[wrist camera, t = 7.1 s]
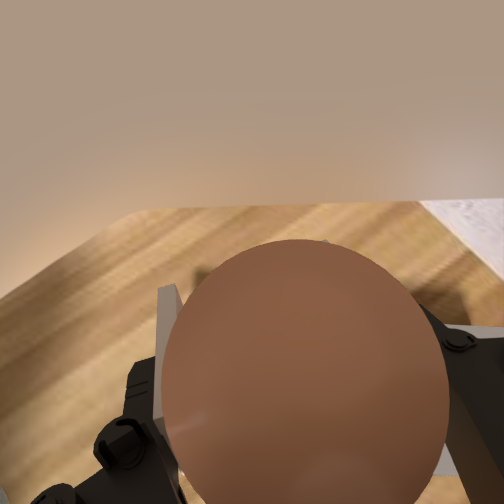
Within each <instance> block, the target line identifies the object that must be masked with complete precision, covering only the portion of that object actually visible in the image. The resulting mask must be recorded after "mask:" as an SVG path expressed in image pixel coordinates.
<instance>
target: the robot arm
mask: <svg viewBox="0 0 504 504" xmlns="http://www.w3.org/2000/svg"><path fill="white" fill-rule="evenodd" d="M322 242H327V243H329V242H328V241H327V240H323V241H322ZM415 301H416V300H415ZM416 302H417V301H416ZM417 303H418V302H417ZM418 305H419V306H420V307H421V309H422V310H423V312H424V314H425V316H426V317H427V319H428V321H429V322H430V324H431V326H432V328H433V331H434V333H435V335H436V337H437V340H438V342H439V345H440V348H441V351H442V354H443V358H444V361H445V366H446V371H447V376H448V382H449V398H450V407H449V423H448V429H447V434H446V439H445V444H446V446H447V449H448V451H449V453H450V456H451V458H452V460H453V463H454V465H455V467H456V470H457V472H458V475H459V477H460V479H461V482H462V484H463V486H464V489H465V491H466V494H467V496H468V498H469V501H470V503H471V504H504V337H499V338H476V337H475V336H474V335H472V334H470V333H469V332H467V331H464V330H460V329H456V328H448V327H447V326H445V325H444V324H443V323H442V322H441V321H439V320H438V319H437V318H436V317H435V316H434V315H432V314H431V313H430V312H429V311H428V310H426V309H425V308H424V307H423V306H422V305H420V304H418ZM182 307H183V304H182V301H181V298H180V296H179V293H178V290H177V287H176V285H175V283H174V284H171V285H167V286H164V287H160V288H158V301H157V327H156V353H155V356H154V357H151V358H148V359H144V360H141V361H138V362H135V363H134V365H133V367H132V369H131V371H130V372H129V374H128V379H127V386H126V388H127V390H126V394H125V401H124V409H123V415H122V416H120V417H118V418H115V419H114V420H112V421H111V422H110V423H108V424H107V425H106V426H105V427H104V428H103V430H102V431H101V432H100V433H99V434H98V436H97V439H96V441H95V443H94V450H93V454H94V456H95V457H96V458H97V460H98V461H99V462H100V464H101V465H102V467H103V468H102V469H101V470H99V471H98V472H97V473H96V474H94V475H93V476H91V477H90V478H88V479H87V480H85V481H84V482H82V483H81V484H79V485H78V486H76V487H75V488H73V487H72V486H71V485H68V484H65V483H61V484H57V485H53V486H51V487H50V488H48V489H46V490H44V491H43V492H42V493H40V494H39V495H38V496H37V497H36V498H35V499H34V500H33V501H32V502H31V503H30V504H188V503H187V500H186V498H185V495H184V493H183V490H182V489H181V487H180V485H179V479H178V468H179V470H180V472H181V473H182V475H185V474H184V473H183V471H182V469H181V467H180V465H179V463H178V461H177V459H176V456H175V454H174V452H173V450H172V447H171V444H170V441H169V437H168V434H167V431H166V427H165V422H164V416H163V411H162V399H161V376H162V365H163V360H164V354H165V349H166V345H167V342H168V339H169V336H170V333H171V330H172V327H173V325H174V323H175V321H176V319H177V317H178V314H179V312H180V311H181V309H182ZM0 504H10V502H9V499H8V497H7V495H6V493H5V491H4V490H3V488H2V487H1V486H0Z"/></svg>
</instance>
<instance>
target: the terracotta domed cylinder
mask: <svg viewBox="0 0 504 504" xmlns="http://www.w3.org/2000/svg"><path fill="white" fill-rule="evenodd" d="M161 399H162V411H163V416H164V422H165V427H166V431H167V434H168V437H169V441H170V444H171V447H172V450H173V452H174V454H175V456H176V459H177V461H178V463H179V465H180V467H181V469H182V471H183V473H184V474H185V476H186V477H187V479H188V480H189V482H190V484H191V485H192V487H193V488H194V490H195V491H196V492H197V493H198V494H199V496H200V497H201V498H202V499H203V500H204V501H205V503H206V504H414V503H415V502H416V500H417V499H418V498H419V496H420V495H421V493H422V492H423V490H424V489H425V487H426V486H427V484H428V483H429V481H430V479H431V477H432V475H433V473H434V471H435V469H436V467H437V465H438V463H439V460H440V456H441V453H442V450H443V447H444V444H445V439H446V434H447V429H448V423H449V407H450V398H449V382H448V376H447V371H446V366H445V361H444V358H443V354H442V351H441V348H440V345H439V342H438V340H437V337H436V335H435V333H434V331H433V328H432V326H431V324H430V322H429V321H428V319H427V317H426V316H425V314H424V312H423V310H422V309H421V307H420V306H419V305H418V303H417V302H416V301H415V299H414V298H413V297H412V295H411V294H410V293H409V292H408V291H407V290H406V289H405V288H404V286H403V285H402V284H401V283H400V282H399V281H398V280H397V279H396V278H394V277H393V276H392V275H391V274H390V273H388V272H387V271H386V270H385V269H384V268H382V267H381V266H379V265H378V264H376V263H375V262H373V261H372V260H370V259H368V258H366V257H364V256H363V255H361V254H359V253H357V252H355V251H352V250H349V249H347V248H344V247H341V246H339V245H335V244H331V243H327V242H322V241H314V240H283V241H275V242H270V243H267V244H263V245H259V246H256V247H253V248H251V249H248V250H246V251H243V252H241V253H239V254H238V255H236V256H234V257H232V258H230V259H229V260H227V261H225V262H224V263H223V264H221V265H220V266H219V267H217V268H216V269H215V270H213V271H212V272H211V273H210V274H209V275H208V276H207V277H206V278H205V279H204V280H203V281H202V282H201V283H200V284H199V285H198V286H197V288H196V289H195V290H194V291H193V293H192V294H191V295H190V296H189V298H188V299H187V301H186V303H185V304H184V306H183V307H182V309H181V311H180V312H179V314H178V317H177V319H176V321H175V323H174V325H173V327H172V330H171V333H170V336H169V339H168V342H167V345H166V349H165V354H164V360H163V365H162V376H161Z"/></svg>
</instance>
